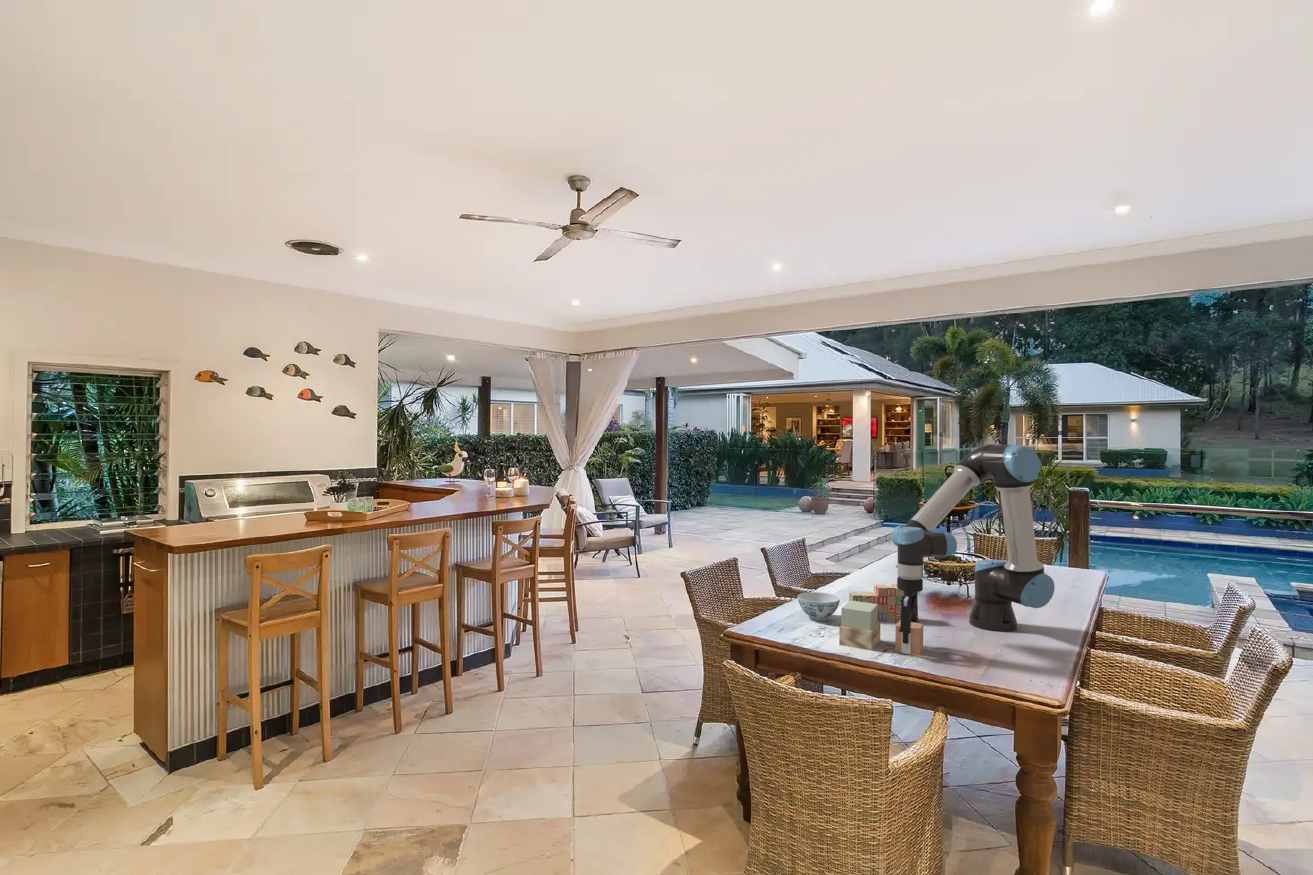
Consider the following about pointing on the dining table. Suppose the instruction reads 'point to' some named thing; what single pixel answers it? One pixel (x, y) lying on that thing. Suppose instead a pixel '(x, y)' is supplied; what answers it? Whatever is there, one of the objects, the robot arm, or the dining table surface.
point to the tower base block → (859, 637)
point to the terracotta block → (915, 638)
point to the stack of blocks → (882, 600)
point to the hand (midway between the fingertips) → (908, 649)
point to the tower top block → (859, 615)
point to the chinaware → (818, 604)
